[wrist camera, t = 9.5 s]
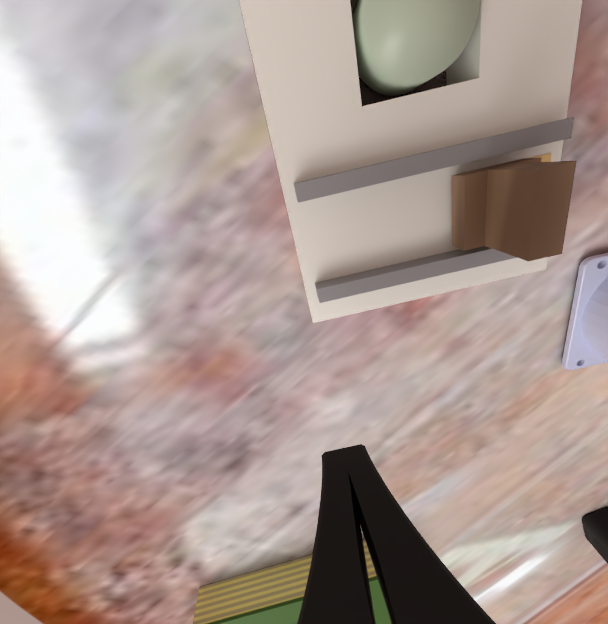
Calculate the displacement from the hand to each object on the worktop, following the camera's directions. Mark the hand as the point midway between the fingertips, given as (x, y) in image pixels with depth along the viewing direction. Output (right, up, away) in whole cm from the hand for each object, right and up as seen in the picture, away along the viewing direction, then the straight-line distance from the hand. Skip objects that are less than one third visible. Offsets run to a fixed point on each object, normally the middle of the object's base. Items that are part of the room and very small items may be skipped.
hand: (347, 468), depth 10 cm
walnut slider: (+6, +10, +3) cm, 12 cm away
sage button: (+2, +16, +2) cm, 17 cm away
